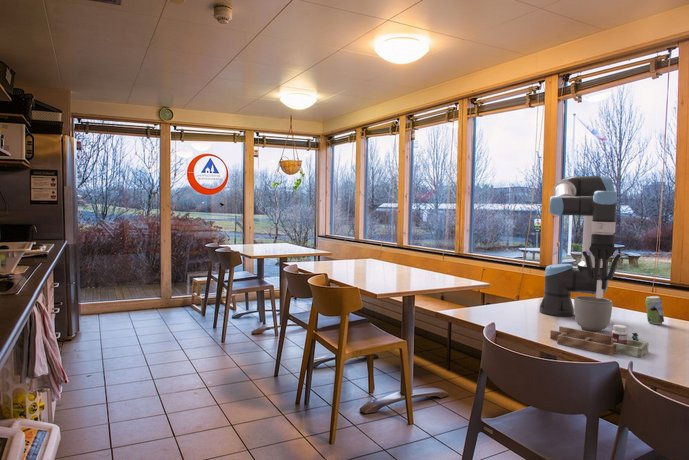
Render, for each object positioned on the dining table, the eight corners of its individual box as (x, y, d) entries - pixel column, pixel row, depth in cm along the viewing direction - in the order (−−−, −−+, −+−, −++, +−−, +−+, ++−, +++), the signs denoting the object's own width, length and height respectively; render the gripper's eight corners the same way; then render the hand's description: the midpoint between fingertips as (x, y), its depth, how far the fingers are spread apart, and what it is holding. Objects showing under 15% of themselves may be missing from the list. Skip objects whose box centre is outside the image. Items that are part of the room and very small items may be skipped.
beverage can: (666, 325, 204) (668, 298, 204) (647, 324, 206) (649, 297, 205) (659, 322, 210) (661, 295, 210) (641, 321, 212) (643, 294, 211)
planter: (565, 327, 197) (566, 296, 196) (588, 324, 202) (590, 295, 202) (594, 336, 184) (596, 303, 184) (618, 333, 190) (620, 301, 189)
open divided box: (545, 340, 176) (545, 332, 176) (559, 333, 187) (560, 326, 187) (637, 360, 156) (637, 351, 155) (647, 351, 166) (648, 342, 166)
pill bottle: (608, 346, 171) (609, 324, 170) (621, 347, 170) (623, 324, 170) (615, 351, 166) (616, 327, 165) (629, 351, 166) (630, 327, 165)
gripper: (580, 232, 173) (577, 296, 174) (620, 235, 164) (616, 302, 165) (587, 231, 178) (583, 293, 180) (626, 234, 169) (622, 299, 171)
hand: (599, 297), depth 172 cm, fingers closed
